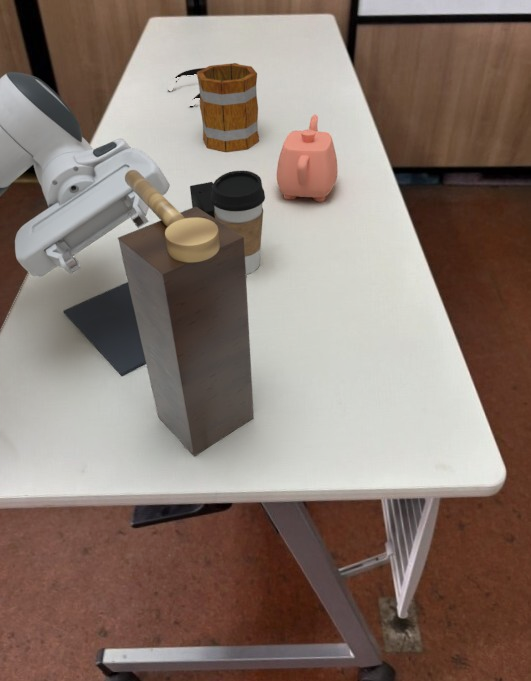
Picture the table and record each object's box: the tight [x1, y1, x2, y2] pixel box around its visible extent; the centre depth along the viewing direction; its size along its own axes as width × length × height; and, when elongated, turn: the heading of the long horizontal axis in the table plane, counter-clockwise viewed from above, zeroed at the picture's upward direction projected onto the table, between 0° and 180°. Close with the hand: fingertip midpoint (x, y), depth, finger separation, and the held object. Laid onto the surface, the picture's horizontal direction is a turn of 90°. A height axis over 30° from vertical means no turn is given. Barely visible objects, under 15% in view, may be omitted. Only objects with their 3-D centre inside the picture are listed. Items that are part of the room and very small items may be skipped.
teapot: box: [276, 114, 339, 202], centre depth 112 cm, size 20×12×12 cm, turn 170°
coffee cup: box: [211, 170, 266, 275], centre depth 91 cm, size 8×8×15 cm
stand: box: [117, 207, 255, 457], centre depth 63 cm, size 8×9×26 cm
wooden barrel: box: [196, 62, 260, 153], centre depth 132 cm, size 20×14×15 cm
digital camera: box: [189, 181, 215, 218], centre depth 102 cm, size 10×5×7 cm, turn 21°
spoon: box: [125, 170, 220, 262], centre depth 56 cm, size 18×5×2 cm, turn 31°
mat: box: [62, 281, 146, 377], centre depth 85 cm, size 18×12×1 cm, turn 40°
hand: (106, 244), depth 65 cm, fingers open, 8 cm apart
